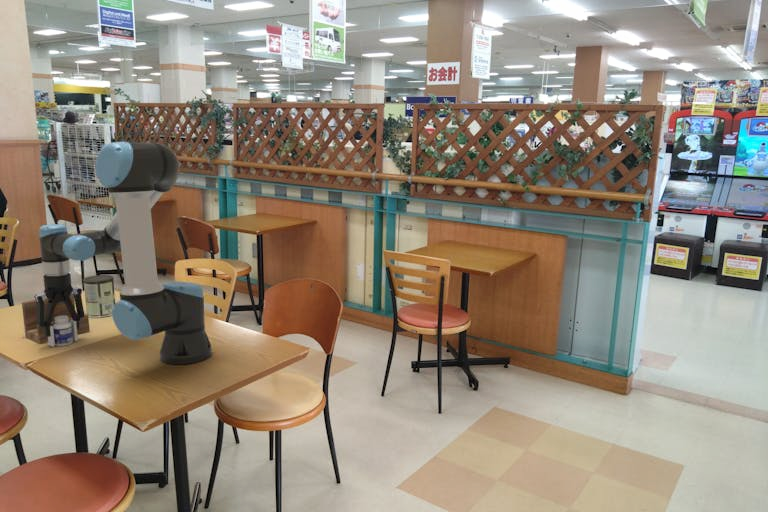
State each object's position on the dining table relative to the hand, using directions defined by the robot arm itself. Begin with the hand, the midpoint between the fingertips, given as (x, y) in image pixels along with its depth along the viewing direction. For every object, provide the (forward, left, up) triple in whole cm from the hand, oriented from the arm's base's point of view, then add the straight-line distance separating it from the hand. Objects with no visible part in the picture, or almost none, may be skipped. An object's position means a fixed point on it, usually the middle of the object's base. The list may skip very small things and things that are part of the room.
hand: (63, 342), depth 185 cm
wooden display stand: (+10, -3, 0) cm, 11 cm away
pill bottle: (0, 0, -1) cm, 1 cm away
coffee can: (+22, -24, -1) cm, 32 cm away
